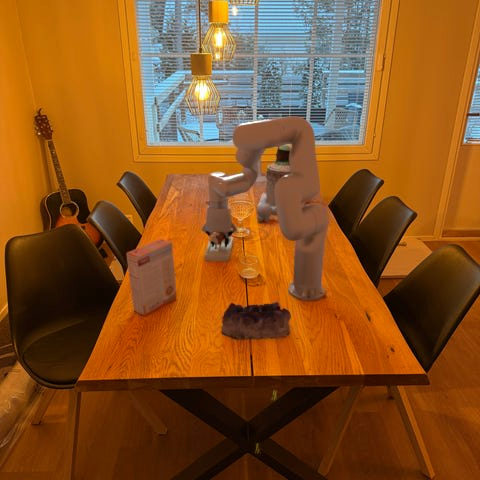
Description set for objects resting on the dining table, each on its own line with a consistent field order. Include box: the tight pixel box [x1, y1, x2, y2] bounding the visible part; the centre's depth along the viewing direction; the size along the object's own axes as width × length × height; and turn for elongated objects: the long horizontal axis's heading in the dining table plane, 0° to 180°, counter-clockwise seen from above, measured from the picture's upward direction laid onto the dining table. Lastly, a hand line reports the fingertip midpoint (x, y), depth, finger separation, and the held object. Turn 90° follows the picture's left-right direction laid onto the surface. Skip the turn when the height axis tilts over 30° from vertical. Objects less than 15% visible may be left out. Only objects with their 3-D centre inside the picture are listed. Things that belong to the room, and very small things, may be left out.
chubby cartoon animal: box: [256, 203, 278, 223], centre depth 213 cm, size 8×12×9 cm, turn 89°
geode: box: [221, 301, 292, 340], centre depth 129 cm, size 20×12×10 cm, turn 97°
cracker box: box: [125, 238, 178, 317], centre depth 140 cm, size 14×6×21 cm, turn 141°
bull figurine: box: [208, 232, 225, 251], centre depth 180 cm, size 4×13×8 cm, turn 160°
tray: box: [204, 236, 234, 262], centre depth 182 cm, size 19×10×2 cm, turn 176°
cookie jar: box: [257, 145, 306, 207], centre depth 232 cm, size 25×25×32 cm
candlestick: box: [254, 157, 267, 184], centre depth 276 cm, size 13×13×30 cm
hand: (219, 245), depth 181 cm, fingers closed on bull figurine, 4 cm apart
